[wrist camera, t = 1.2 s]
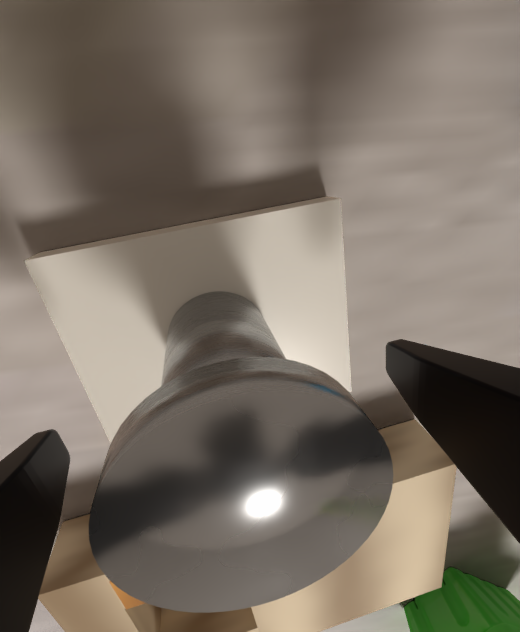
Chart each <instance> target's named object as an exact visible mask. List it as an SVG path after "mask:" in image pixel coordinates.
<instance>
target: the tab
mask: <svg viewBox="0 0 520 632" xmlns="http://www.w3.org/2000/svg"><path fill="white" fill-rule="evenodd" d="M24 262H25V264H26V266H27V268H28V270H29V273H30V275H31V277H32V279H33V281H34V283H35V285H36V287H37V289H38V292H39V294H40V296H41V298H42V300H43V302H44V304H45V306H46V308H47V311H48V313H49V315H50V317H51V319H52V321H53V323H54V325H55V327H56V330H57V332H58V334H59V336H60V338H61V340H62V342H63V344H64V346H65V349H66V351H67V353H68V355H69V357H70V359H71V361H72V363H73V365H74V368H75V370H76V372H77V374H78V376H79V378H80V380H81V382H82V385H83V387H84V389H85V391H86V393H87V395H88V397H89V399H90V401H91V404H92V406H93V408H94V410H95V412H96V414H97V416H98V418H99V420H100V423H101V425H102V427H103V429H104V431H105V433H106V435H107V437H108V439H109V442H110V444H111V442H112V440H113V438H114V436H115V434H116V433H117V431H118V429H119V427H120V426H121V424H122V423H123V422H124V421H125V419H126V418H127V417H128V415H129V414H130V413H131V412H132V411H133V410H134V409H135V408H136V407H137V406H138V405H139V404H140V403H141V402H142V401H143V400H144V399H145V398H146V397H148V396H149V395H150V394H152V393H153V392H154V391H156V390H157V389H158V388H160V387H161V383H162V375H163V367H164V359H165V351H166V343H167V335H168V329H169V325H170V323H171V320H172V318H173V317H174V315H175V314H176V312H177V311H178V310H179V309H180V308H181V307H182V306H183V305H184V304H185V303H186V302H188V301H189V300H191V299H192V298H194V297H196V296H199V295H201V294H204V293H208V292H215V291H223V292H231V293H235V294H238V295H240V296H242V297H244V298H246V299H248V300H249V301H251V302H252V303H253V304H254V305H255V306H256V307H257V308H258V309H259V311H260V312H261V314H262V316H263V317H264V319H265V321H266V323H267V325H268V327H269V328H270V330H271V332H272V334H273V336H274V337H275V339H276V341H277V343H278V345H279V347H280V348H281V350H282V352H283V354H284V356H285V358H286V359H287V360H293V361H297V362H300V363H303V364H307V365H310V366H312V367H314V368H316V369H319V370H321V371H323V372H325V373H326V374H328V375H329V376H331V377H332V378H334V379H335V380H337V381H338V382H339V383H340V384H341V385H342V386H343V387H344V388H345V389H347V390H348V392H351V391H352V390H351V372H350V354H349V336H348V318H347V300H346V281H345V263H344V245H343V227H342V209H341V198H335V197H322V198H316V199H311V200H306V201H301V202H296V203H291V204H286V205H281V206H275V207H270V208H265V209H260V210H255V211H250V212H245V213H240V214H234V215H229V216H224V217H219V218H214V219H209V220H204V221H199V222H193V223H188V224H183V225H178V226H173V227H168V228H163V229H158V230H152V231H147V232H142V233H137V234H132V235H127V236H122V237H117V238H111V239H106V240H101V241H96V242H91V243H86V244H81V245H76V246H70V247H65V248H60V249H55V250H50V251H45V252H40V253H38V254H36V255H34V256H32V257H30V258H28V259H26V260H24Z"/></svg>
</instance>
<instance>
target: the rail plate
mask: <svg viewBox="0 0 520 632" xmlns="http://www.w3.org/2000/svg"><path fill="white" fill-rule="evenodd" d="M378 431H379V433H380V434H381V435H382V437H383V438H384V440H385V442H386V445H387V447H388V449H389V451H390V455H391V459H392V463H393V485H392V491H391V495H390V499H389V502H388V505H387V507H386V510H385V512H384V514H383V516H382V518H381V520H380V521H379V523H378V525H377V527H376V528H375V529H374V531H373V532H372V534H371V535H370V536H369V538H368V539H367V540H366V541H365V542H364V543H363V545H362V546H361V547H360V548H359V549H358V550H357V551H356V552H355V553H354V554H353V555H352V556H351V557H350V558H348V559H347V560H346V561H345V562H344V563H342V564H341V565H340V566H339V567H337V568H336V569H335V570H333V571H332V572H330V573H329V574H327V575H326V576H324V577H323V578H321V579H320V580H318V581H316V582H314V583H313V584H311V585H309V586H307V587H305V588H303V589H301V590H299V591H297V592H295V593H293V594H290V595H288V596H285V597H283V598H280V599H277V600H275V601H271V602H268V603H265V604H261V605H258V606H253V607H249V608H245V609H239V610H232V611H225V612H211V613H195V612H183V611H174V610H170V609H165V608H160V607H157V606H154V605H150V604H147V603H144V602H142V601H140V600H138V599H136V598H134V597H131V596H130V595H128V594H127V593H125V592H124V591H122V590H121V589H119V588H118V587H117V586H116V585H114V584H113V583H112V582H111V581H110V580H109V579H108V578H107V577H106V575H105V574H104V573H103V572H102V570H101V569H100V568H99V566H98V564H97V562H96V560H95V558H94V556H93V554H92V550H91V546H90V542H89V525H88V524H89V518H90V514H88V515H85V516H81V517H78V518H74V519H71V520H68V521H64V522H63V523H62V526H61V529H60V531H59V534H58V537H57V540H56V543H55V545H54V548H53V551H52V554H51V556H50V559H49V562H48V565H47V568H46V572H45V575H44V579H43V583H42V586H41V590H40V593H39V597H38V599H39V600H40V601H41V603H42V604H43V605H44V606H45V608H46V609H47V610H48V611H49V612H50V614H51V615H52V616H53V617H54V619H55V620H56V621H57V622H58V623H59V625H60V626H61V627H62V628H63V630H64V631H65V632H320V631H322V630H325V629H328V628H331V627H333V626H336V625H339V624H342V623H344V622H347V621H350V620H353V619H355V618H358V617H361V616H364V615H366V614H369V613H372V612H375V611H377V610H380V609H383V608H386V607H389V606H391V605H394V604H397V603H400V602H402V601H405V600H408V599H411V598H413V597H416V596H419V595H422V594H424V593H427V592H430V591H433V590H435V589H438V588H441V587H442V579H443V571H444V563H445V555H446V547H447V539H448V531H449V523H450V515H451V507H452V499H453V491H454V483H455V475H456V465H455V464H454V463H453V462H452V461H451V459H450V458H449V457H448V456H447V454H446V453H445V452H444V451H443V450H442V448H441V447H440V446H439V445H438V444H437V442H436V441H435V440H434V439H433V438H432V437H431V436H430V435H429V434H428V433H427V431H426V430H425V429H424V428H423V427H422V426H421V425H420V424H419V423H418V422H417V421H416V420H415V419H414V420H411V421H407V422H404V423H400V424H397V425H393V426H390V427H387V428H383V429H380V430H378Z"/></svg>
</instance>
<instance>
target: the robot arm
mask: <svg viewBox="0 0 520 632" xmlns="http://www.w3.org/2000/svg"><path fill="white" fill-rule="evenodd" d="M386 370H387V373H388V375H389V377H390V378H391V380H392V381H393V383H394V385H395V386H396V388H397V389H398V391H399V392H400V394H401V395H402V397H403V398H404V400H405V401H406V403H407V404H408V406H409V407H410V409H411V410H412V412H413V413H414V415H415V416H416V418H417V419H418V420H419V421H420V423H421V424H422V425H423V426H424V428H425V429H426V430H427V431H428V433H429V434H430V435H431V436H432V437H433V439H434V440H435V441H436V442H437V444H438V445H439V446H440V447H441V448H442V450H443V451H444V452H445V453H446V454H447V456H448V457H449V458H450V459H451V461H452V462H453V463H454V464H455V465H456V467H457V468H458V469H459V470H460V472H461V473H462V474H463V475H464V476H465V478H466V479H467V480H468V481H469V482H470V484H471V485H472V486H473V487H474V489H475V490H476V491H477V492H478V493H479V495H480V496H481V497H482V498H483V500H484V501H485V502H486V503H487V504H488V506H489V507H490V508H491V509H492V510H493V512H494V513H495V514H496V515H497V517H498V518H499V519H500V520H501V521H502V523H503V524H504V525H505V526H506V528H507V529H508V530H509V531H510V532H511V534H512V535H513V536H514V537H515V538H516V540H517V541H518V542H519V543H520V368H516V367H512V366H508V365H504V364H500V363H496V362H492V361H488V360H484V359H480V358H476V357H472V356H468V355H464V354H460V353H456V352H451V351H447V350H443V349H439V348H435V347H431V346H427V345H423V344H419V343H415V342H411V341H407V340H403V339H399V340H395V341H391V342H388V343H387V345H386ZM69 464H70V455H69V452H68V450H67V448H66V447H65V445H64V443H63V441H62V439H61V438H60V436H59V434H58V432H57V431H55V430H53V429H51V430H47V431H43V432H39V433H36V434H34V435H33V436H32V437H30V438H29V439H28V440H27V441H25V442H24V443H23V444H22V445H20V446H19V447H18V448H16V449H15V450H14V451H13V452H11V453H10V454H9V455H8V456H6V457H5V458H4V459H3V460H1V461H0V632H29V629H30V625H31V622H32V618H33V615H34V611H35V607H36V604H37V600H38V597H39V593H40V590H41V586H42V583H43V579H44V575H45V572H46V568H47V565H48V561H49V558H50V554H51V551H52V547H53V544H54V540H55V536H56V533H57V529H58V525H59V521H60V516H61V511H62V505H63V499H64V493H65V488H66V482H67V476H68V470H69Z"/></svg>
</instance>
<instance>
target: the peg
mask: <svg viewBox="0 0 520 632" xmlns="http://www.w3.org/2000/svg"><path fill="white" fill-rule="evenodd" d="M392 485H393V463H392V459H391V455H390V451H389V449H388V447H387V445H386V442H385V440H384V438H383V437H382V435H381V434H380V433H379V431H378V430H377V429H376V427H375V426H374V425H373V423H372V422H371V421H370V420H369V418H368V417H367V416H366V414H365V413H364V412H363V410H362V409H361V408H360V406H359V405H358V404H357V402H356V401H355V400H354V398H353V397H352V396H351V394H350V393H349V392H348V390H347V389H345V388H344V387H343V386H342V385H341V384H340V383H339V382H338V381H337V380H335V379H334V378H332V377H331V376H329V375H328V374H326V373H325V372H323V371H321V370H319V369H316V368H314V367H312V366H310V365H307V364H303V363H300V362H297V361H293V360H287V359H286V358H285V356H284V354H283V352H282V350H281V348H280V347H279V345H278V343H277V341H276V339H275V337H274V336H273V334H272V332H271V330H270V328H269V327H268V325H267V323H266V321H265V319H264V317H263V316H262V314H261V312H260V311H259V309H258V308H257V307H256V306H255V305H254V304H253V303H252V302H251V301H249V300H248V299H246V298H244V297H242V296H240V295H238V294H235V293H231V292H223V291H215V292H208V293H204V294H201V295H199V296H196V297H194V298H192V299H191V300H189V301H188V302H186V303H185V304H184V305H183V306H182V307H181V308H180V309H179V310H178V311H177V312H176V314H175V315H174V317H173V318H172V320H171V323H170V325H169V329H168V335H167V343H166V351H165V359H164V367H163V375H162V383H161V387H160V388H158V389H157V390H156V391H154V392H153V393H152V394H150V395H149V396H148V397H146V398H145V399H144V400H143V401H142V402H141V403H140V404H139V405H138V406H137V407H136V408H135V409H134V410H133V411H132V412H131V413H130V414H129V415H128V417H127V418H126V419H125V421H124V422H123V423H122V424H121V426H120V427H119V429H118V431H117V433H116V434H115V436H114V438H113V440H112V442H111V445H110V447H109V450H108V453H107V456H106V459H105V462H104V466H103V469H102V473H101V476H100V480H99V483H98V487H97V490H96V493H95V497H94V500H93V504H92V507H91V513H90V518H89V524H88V525H89V542H90V546H91V550H92V554H93V556H94V558H95V560H96V562H97V564H98V566H99V568H100V569H101V570H102V572H103V573H104V574H105V575H106V577H107V578H108V579H109V580H110V581H111V582H112V583H113V584H114V585H116V586H117V587H118V588H119V589H121V590H122V591H124V592H125V593H127V594H128V595H130V596H131V597H134V598H136V599H138V600H140V601H142V602H144V603H147V604H150V605H154V606H157V607H160V608H165V609H170V610H174V611H183V612H195V613H211V612H225V611H232V610H239V609H245V608H249V607H253V606H258V605H261V604H265V603H268V602H271V601H275V600H277V599H280V598H283V597H285V596H288V595H290V594H293V593H295V592H297V591H299V590H301V589H303V588H305V587H307V586H309V585H311V584H313V583H314V582H316V581H318V580H320V579H321V578H323V577H324V576H326V575H327V574H329V573H330V572H332V571H333V570H335V569H336V568H337V567H339V566H340V565H341V564H342V563H344V562H345V561H346V560H347V559H348V558H350V557H351V556H352V555H353V554H354V553H355V552H356V551H357V550H358V549H359V548H360V547H361V546H362V545H363V543H364V542H365V541H366V540H367V539H368V538H369V536H370V535H371V534H372V532H373V531H374V529H375V528H376V527H377V525H378V523H379V521H380V520H381V518H382V516H383V514H384V512H385V510H386V507H387V505H388V502H389V499H390V495H391V491H392Z"/></svg>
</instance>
